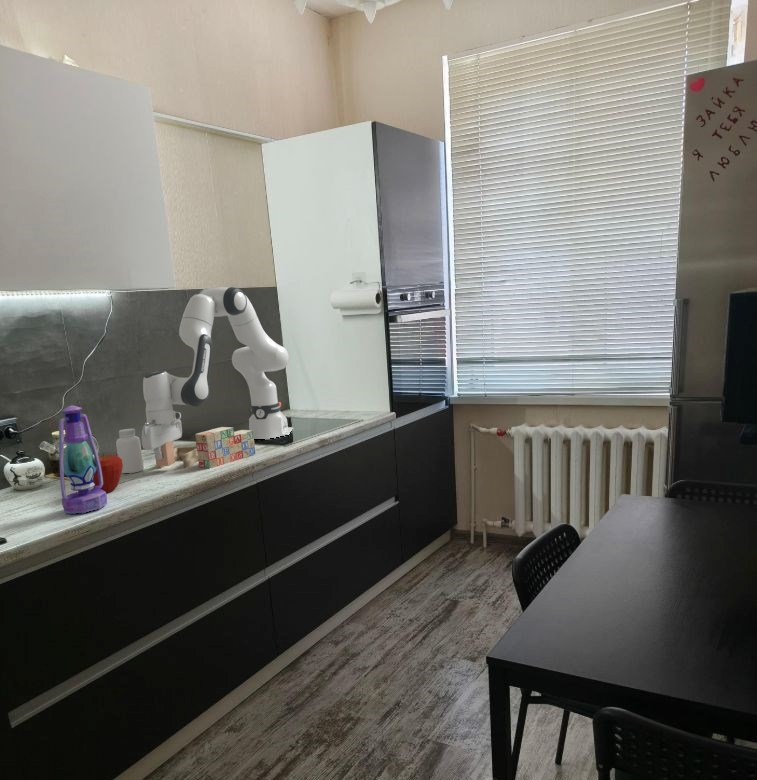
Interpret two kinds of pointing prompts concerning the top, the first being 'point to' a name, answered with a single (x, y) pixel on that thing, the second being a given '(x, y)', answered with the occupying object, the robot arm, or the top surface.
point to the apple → (109, 472)
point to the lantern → (79, 464)
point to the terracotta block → (166, 455)
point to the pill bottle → (129, 451)
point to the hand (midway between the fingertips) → (164, 456)
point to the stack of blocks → (223, 446)
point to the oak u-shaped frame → (185, 455)
